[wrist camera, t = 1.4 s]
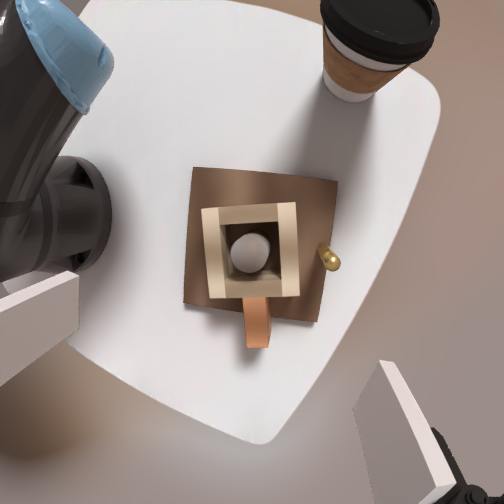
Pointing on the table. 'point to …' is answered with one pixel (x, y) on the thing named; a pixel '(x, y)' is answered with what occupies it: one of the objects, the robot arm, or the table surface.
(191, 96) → the table surface
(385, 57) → the coffee cup
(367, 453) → the robot arm
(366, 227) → the table surface
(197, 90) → the table surface
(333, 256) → the dowel
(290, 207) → the hollow square frame
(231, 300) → the base
